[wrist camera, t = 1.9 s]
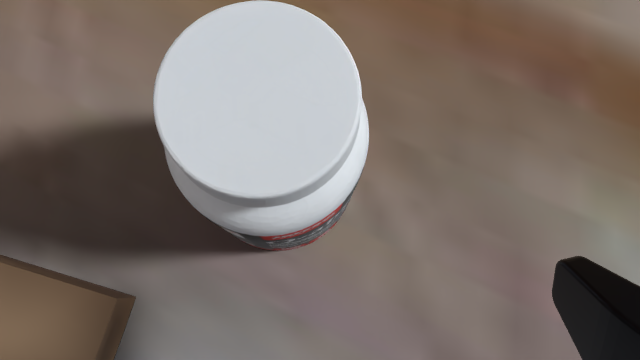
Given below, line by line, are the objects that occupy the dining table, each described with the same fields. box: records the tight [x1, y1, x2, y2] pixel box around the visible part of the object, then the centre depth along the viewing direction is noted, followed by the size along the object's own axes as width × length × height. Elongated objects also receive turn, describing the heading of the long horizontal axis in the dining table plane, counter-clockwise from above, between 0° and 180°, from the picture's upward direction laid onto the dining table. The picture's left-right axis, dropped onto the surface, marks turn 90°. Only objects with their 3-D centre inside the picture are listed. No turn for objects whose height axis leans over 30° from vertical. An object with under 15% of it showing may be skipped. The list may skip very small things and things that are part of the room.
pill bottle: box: [153, 0, 369, 250], centre depth 16 cm, size 6×6×10 cm
